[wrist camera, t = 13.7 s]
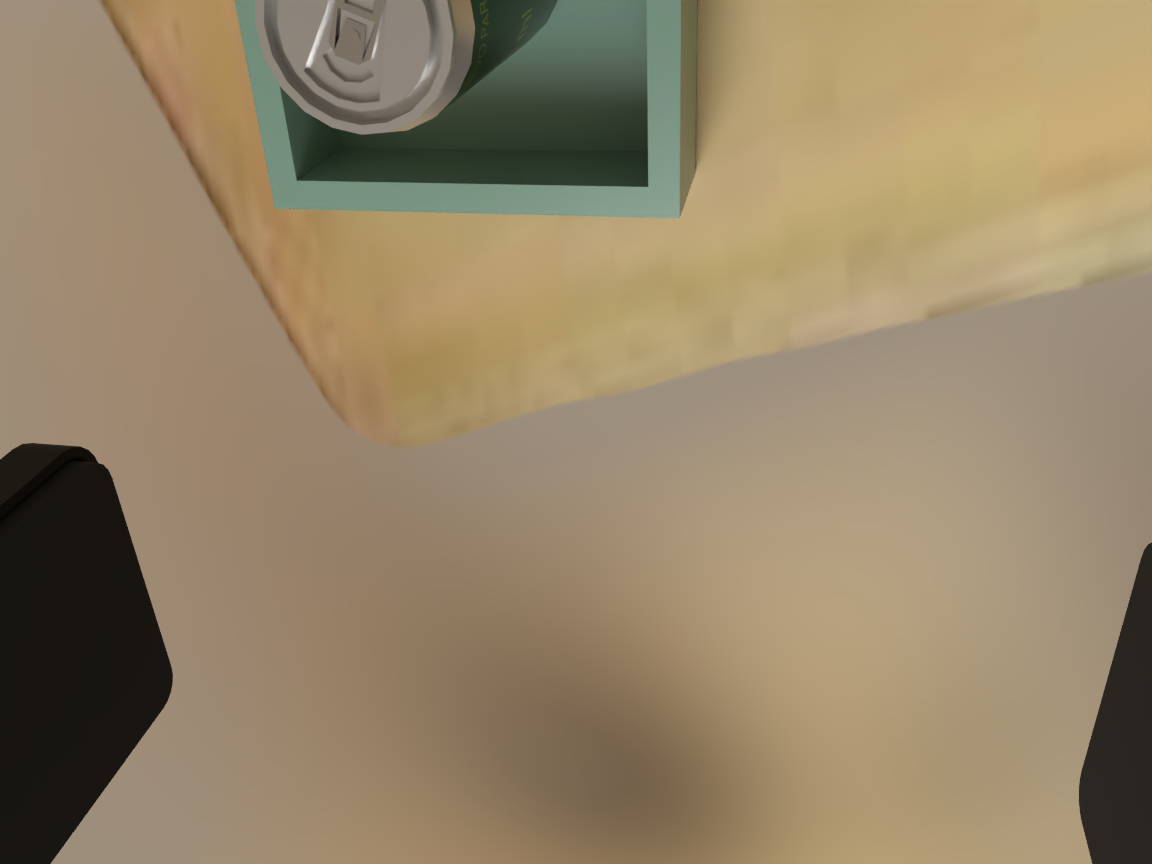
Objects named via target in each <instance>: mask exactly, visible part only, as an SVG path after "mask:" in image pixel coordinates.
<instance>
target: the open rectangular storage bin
mask: <svg viewBox="0 0 1152 864" xmlns="http://www.w3.org/2000/svg"><path fill="white" fill-rule="evenodd" d="M235 4H236V10H237V15H238V20H239V25H240V30H241V36H242V41H243V46H244V51H245V56H246V62H247V67H248V72H249V77H250V82H251V87H252V93H253V98H254V103H255V108H256V113H257V119H258V124H259V129H260V134H261V139H262V145H263V150H264V155H265V160H266V165H267V171H268V176H269V181H270V186H271V191H272V196H273V202H274V207H275V209H311V210H353V211H396V212H438V213H481V214H523V215H566V216H608V217H651V218H680V216H681V213H682V210H683V207H684V204H685V201H686V198H687V195H688V192H689V189H690V186H691V184H692V181H693V178H694V175H695V169H696V93H697V18H698V0H558V1H557V3H556V6H555V8H554V10H553V12H552V14H551V16H550V18H549V20H548V22H547V23H546V24H545V25H544V26H543V27H542V28H541V29H540V30H539V31H538V32H537V34H536V35H535V36H534V37H533V38H532V39H531V40H530V41H528V42H527V43H526V44H525V45H524V46H522V47H521V48H520V49H519V50H517V51H516V52H515V53H514V54H512V55H511V56H510V57H509V58H508V59H506V60H505V61H504V62H503V63H501V64H500V65H499V66H498V67H496V68H495V69H494V70H493V71H492V72H490V73H489V74H488V75H487V76H485V77H484V78H483V79H482V80H480V81H479V82H478V83H477V84H476V85H474V86H473V87H472V88H471V89H469V90H468V91H467V92H466V93H464V94H463V95H462V96H461V97H460V98H458V99H457V100H456V101H455V102H453V103H452V104H451V105H450V106H448V107H447V108H446V109H445V110H444V111H442V112H441V113H440V114H439V115H437V116H436V117H435V118H433V119H431V120H428V121H426V122H424V123H422V124H420V125H418V126H416V127H414V128H412V129H410V130H407V131H397V132H386V133H374V134H364V135H361V134H357V133H352V132H348V131H344V130H340V129H336V128H332V127H330V126H328V125H327V124H325V123H323V122H322V121H320V120H318V119H316V118H315V117H313V116H311V115H310V114H308V113H306V112H304V111H303V110H302V108H301V107H300V106H299V105H298V104H297V103H296V102H295V101H294V100H293V99H292V98H291V97H290V96H289V95H288V94H287V93H286V92H285V91H284V90H283V89H282V88H281V87H280V85H279V83H278V81H277V80H276V78H275V76H274V74H273V73H272V71H271V69H270V67H269V66H268V64H267V62H266V60H265V59H264V56H263V52H262V49H261V45H260V41H259V37H258V34H257V30H256V26H255V0H235Z"/></svg>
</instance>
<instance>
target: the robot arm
mask: <svg viewBox="0 0 1152 864" xmlns="http://www.w3.org/2000/svg"><path fill="white" fill-rule="evenodd" d="M172 679H173V674H172V668H171V664H170V661H169V658H168V655H167V651H166V648H165V645H164V642H163V639H162V635H161V632H160V629H159V626H158V623H157V620H156V616H155V613H154V610H153V607H152V604H151V601H150V597H149V594H148V591H147V588H146V585H145V581H144V578H143V575H142V572H141V569H140V565H139V563H138V559H137V556H136V553H135V549H134V546H133V543H132V540H131V537H130V534H129V530H128V527H127V524H126V521H125V518H124V514H123V511H122V508H121V505H120V502H119V498H118V495H117V492H116V489H115V486H114V483H113V479H112V477H111V475H110V472H109V470H108V469H107V468H106V467H105V466H104V465H102V464H99V463H98V462H97V460H96V458H95V456H94V455H93V454H92V453H91V452H90V451H89V450H87V449H84V448H82V447H77V446H64V445H50V444H36V443H30V444H22V445H20V446H18V447H16V448H15V449H13V450H12V451H11V452H9V453H8V454H7V455H5V456H4V457H3V458H2V459H0V864H51V862H52V861H53V859H54V858H55V856H56V855H57V854H58V853H59V851H60V850H61V848H62V847H63V846H64V844H65V843H66V842H67V840H68V839H69V837H70V836H71V835H72V833H73V832H74V831H75V829H76V828H77V826H78V825H79V824H80V822H81V821H82V819H83V818H84V816H85V815H86V814H87V813H88V811H89V810H90V808H91V807H92V806H93V804H94V803H95V802H96V800H97V799H98V797H99V796H100V795H101V793H102V792H103V791H104V789H105V788H106V786H107V785H108V784H109V782H110V781H111V780H112V778H113V777H114V775H115V774H116V773H117V771H118V770H119V769H120V767H121V766H122V764H123V763H124V762H125V760H126V759H127V758H128V756H129V755H130V753H131V752H132V750H133V749H134V748H135V746H136V745H137V744H138V742H139V741H140V740H141V738H142V737H143V735H144V734H145V733H146V731H147V730H148V729H149V727H150V726H151V724H152V723H153V722H154V720H155V719H156V717H157V716H158V715H159V713H160V712H161V711H162V709H163V708H164V706H165V704H166V703H167V701H168V698H169V695H170V693H171V688H172V681H173V680H172ZM1079 806H1080V815H1081V820H1082V824H1083V828H1084V832H1085V836H1086V840H1087V844H1088V848H1089V851H1090V856H1091V859H1092V863H1093V864H1152V543H1150V544H1148V546H1147V547H1146V548H1145V550H1144V552H1143V555H1142V558H1141V561H1140V564H1139V569H1138V572H1137V575H1136V579H1135V582H1134V586H1133V590H1132V593H1131V597H1130V600H1129V604H1128V608H1127V611H1126V615H1125V618H1124V622H1123V625H1122V629H1121V632H1120V636H1119V640H1118V643H1117V647H1116V650H1115V654H1114V658H1113V661H1112V665H1111V668H1110V672H1109V675H1108V679H1107V682H1106V686H1105V690H1104V693H1103V697H1102V701H1101V704H1100V708H1099V711H1098V715H1097V718H1096V722H1095V725H1094V729H1093V732H1092V736H1091V740H1090V743H1089V747H1088V750H1087V754H1086V758H1085V761H1084V765H1083V768H1082V772H1081V777H1080V785H1079Z"/></svg>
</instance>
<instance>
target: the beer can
mask: <svg viewBox="0 0 1152 864" xmlns="http://www.w3.org/2000/svg"><path fill="white" fill-rule="evenodd" d="M557 1H558V0H255V26H256V30H257V34H258V37H259V41H260V45H261V49H262V52H263V56H264V59H265V60H266V62H267V64H268V66H269V67H270V69H271V71H272V73H273V74H274V76H275V78H276V80H277V81H278V83H279V85H280V87H281V88H282V89H283V90H284V91H285V92H286V93H287V94H288V95H289V96H290V97H291V98H292V99H293V100H294V101H295V102H296V103H297V104H298V105H299V106H300V107H301V108H302V110H303V111H304V112H306V113H308V114H310V115H311V116H313V117H315V118H316V119H318V120H320V121H322V122H323V123H325V124H327V125H328V126H330V127H332V128H336V129H340V130H344V131H348V132H352V133H357V134H361V135H364V134H374V133H386V132H397V131H407V130H410V129H412V128H414V127H416V126H418V125H420V124H422V123H424V122H426V121H428V120H431V119H433V118H435V117H436V116H437V115H439V114H440V113H441V112H442V111H444V110H445V109H446V108H447V107H448V106H450V105H451V104H452V103H453V102H455V101H456V100H457V99H458V98H460V97H461V96H462V95H463V94H464V93H466V92H467V91H468V90H469V89H471V88H472V87H473V86H474V85H476V84H477V83H478V82H479V81H480V80H482V79H483V78H484V77H485V76H487V75H488V74H489V73H490V72H492V71H493V70H494V69H495V68H496V67H498V66H499V65H500V64H501V63H503V62H504V61H505V60H506V59H508V58H509V57H510V56H511V55H512V54H514V53H515V52H516V51H517V50H519V49H520V48H521V47H522V46H524V45H525V44H526V43H527V42H528V41H530V40H531V39H532V38H533V37H534V36H535V35H536V34H537V32H538V31H539V30H540V29H541V28H542V27H543V26H544V25H545V24H546V23H547V22H548V20H549V18H550V16H551V14H552V12H553V10H554V8H555V6H556V3H557Z"/></svg>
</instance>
